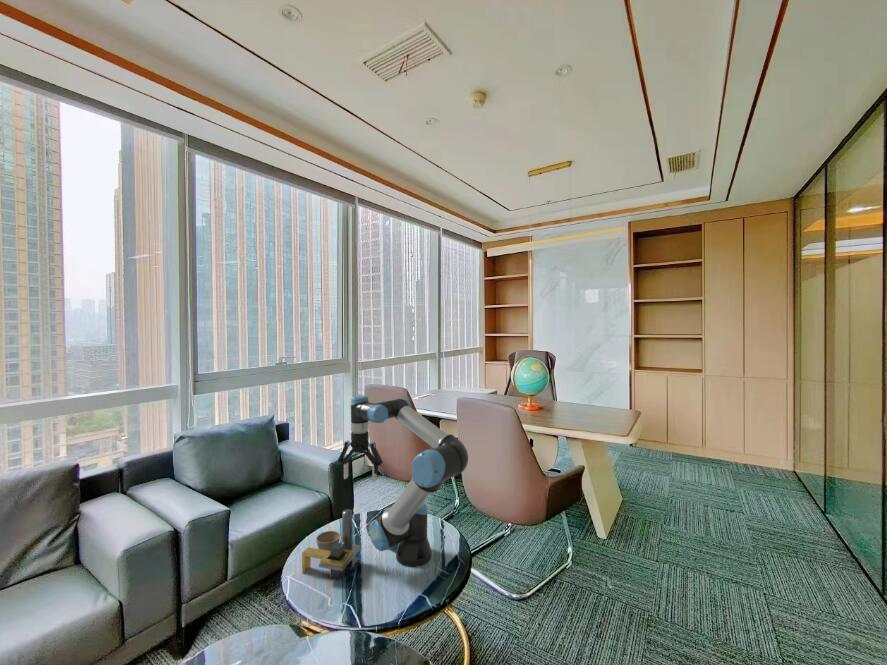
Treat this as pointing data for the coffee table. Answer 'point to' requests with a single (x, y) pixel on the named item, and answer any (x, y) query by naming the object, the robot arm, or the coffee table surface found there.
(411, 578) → the coffee table surface
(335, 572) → the dark grey block
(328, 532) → the flower pot
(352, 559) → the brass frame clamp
